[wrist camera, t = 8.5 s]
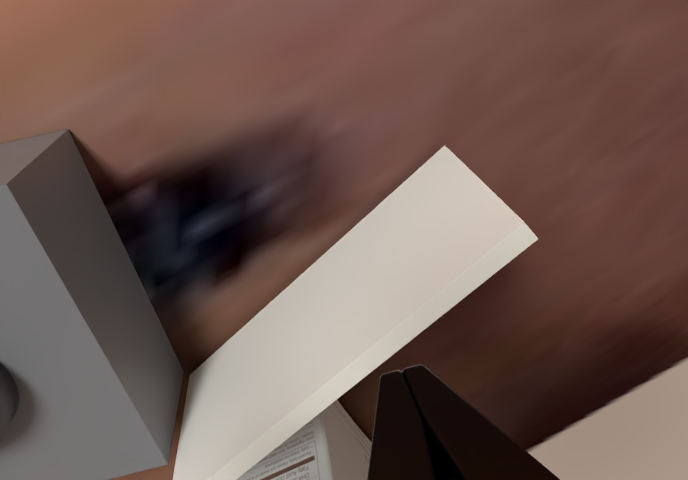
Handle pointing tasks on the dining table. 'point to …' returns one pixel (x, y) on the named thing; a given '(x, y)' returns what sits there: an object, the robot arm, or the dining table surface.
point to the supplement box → (318, 451)
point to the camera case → (74, 329)
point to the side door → (346, 316)
